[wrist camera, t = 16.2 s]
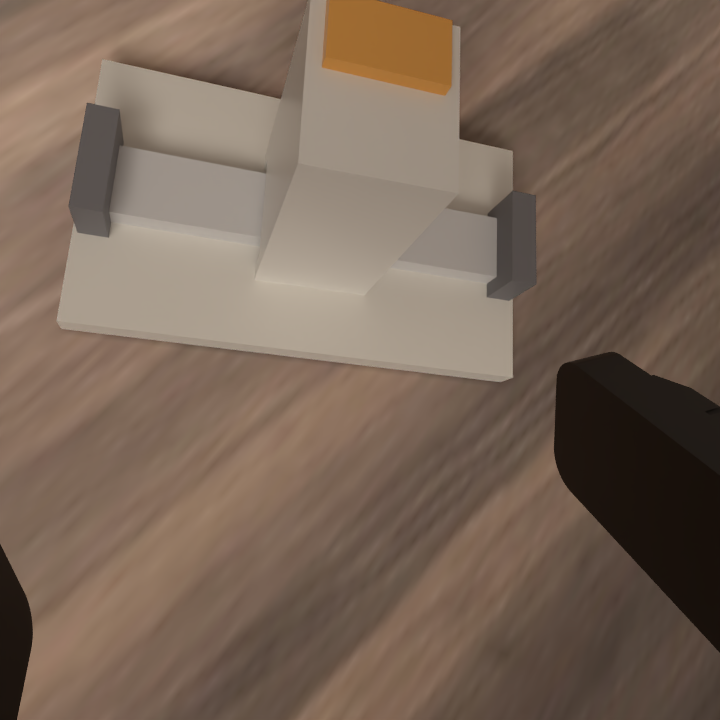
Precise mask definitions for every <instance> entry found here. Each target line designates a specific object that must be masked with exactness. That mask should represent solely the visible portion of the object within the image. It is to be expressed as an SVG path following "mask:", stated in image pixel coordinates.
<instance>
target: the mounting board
mask: <svg viewBox="0 0 720 720" xmlns="http://www.w3.org/2000/svg"><path fill="white" fill-rule="evenodd" d="M280 100H281V99H278V98H274V97H269V96H265V95H260V94H256V93H252V92H247V91H243V90H238V89H234V88H229V87H225V86H220V85H216V84H211V83H207V82H202V81H198V80H194V79H189V78H185V77H180V76H176V75H171V74H167V73H162V72H158V71H153V70H149V69H144V68H140V67H136V66H131V65H127V64H122V63H118V62H113V61H109V60H104V59H102V65H101V71H100V77H99V82H98V88H97V94H96V99H95V104H91V103H87V106H86V111H85V117H84V123H83V128H82V134H81V139H80V145H79V151H78V156H77V162H76V167H75V173H74V179H73V184H72V190H71V195H70V201H69V209H70V212H71V215H72V218H73V221H74V225H73V230H72V236H71V242H70V248H69V253H68V259H67V265H66V270H65V276H64V282H63V287H62V293H61V299H60V305H59V310H58V316H57V322H58V324H59V326H60V327H61V329H67V330H76V331H84V332H92V333H100V334H108V335H117V336H125V337H133V338H141V339H150V340H158V341H166V342H174V343H183V344H191V345H199V346H207V347H216V348H224V349H232V350H240V351H248V352H257V353H265V354H273V355H281V356H290V357H298V358H306V359H314V360H323V361H331V362H339V363H347V364H355V365H364V366H372V367H380V368H388V369H397V370H405V371H413V372H421V373H430V374H438V375H446V376H454V377H462V378H471V379H479V380H487V381H495V382H502V381H505V380H507V379H510V378H513V298H515V297H516V296H518V295H520V294H521V293H523V292H524V291H526V290H528V289H529V288H531V287H533V286H534V285H536V195H531V194H526V193H522V192H517V191H513V151H510V150H506V149H501V148H497V147H492V146H488V145H484V144H479V143H475V142H470V141H466V140H461V139H459V194H458V195H457V196H456V197H455V198H454V199H453V200H452V201H451V202H450V203H449V205H448V206H447V207H446V208H445V209H444V210H443V211H442V212H441V213H440V214H439V215H438V216H437V217H436V219H435V220H434V221H433V222H432V223H431V224H430V225H429V226H428V227H427V228H426V229H425V230H424V232H423V233H422V234H421V235H420V236H419V237H418V238H417V239H416V240H415V241H414V242H413V243H412V244H411V246H410V247H409V248H408V249H407V250H406V251H405V252H404V253H403V254H402V255H401V256H400V257H399V259H398V260H397V261H396V262H395V263H394V264H393V265H392V266H391V267H390V268H389V269H388V270H387V271H386V273H385V274H384V275H383V276H382V277H381V278H380V279H379V280H378V281H377V282H376V283H375V284H374V286H373V287H372V288H371V289H370V290H369V291H368V292H367V293H366V294H365V295H358V294H351V293H344V292H337V291H330V290H322V289H315V288H308V287H301V286H294V285H286V284H279V283H272V282H265V281H258V280H254V277H255V265H256V262H257V259H258V257H259V250H260V239H261V228H262V216H263V205H264V193H265V182H266V170H264V164H265V155H266V151H267V148H268V144H269V140H270V137H271V133H272V129H273V126H274V122H275V118H276V115H277V111H278V107H279V104H280Z"/></svg>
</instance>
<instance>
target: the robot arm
mask: <svg viewBox="0 0 720 720" xmlns="http://www.w3.org/2000/svg"><path fill="white" fill-rule="evenodd" d="M554 454H555V460H556V464H557V468H558V471H559V473H560V475H561V478H562V480H563V481H564V483H565V485H566V486H567V488H568V489H569V490H570V491H571V492H572V493H573V495H574V496H575V497H576V498H577V499H578V500H579V501H580V502H581V503H582V504H583V505H584V506H585V508H586V509H587V510H588V511H589V512H590V513H591V514H592V515H593V516H594V517H595V518H596V519H597V520H598V522H599V523H600V524H601V525H602V526H603V527H604V528H605V529H606V530H607V531H608V532H609V533H610V535H611V536H612V537H613V538H614V539H615V540H616V541H617V542H618V543H619V544H620V545H621V546H622V547H623V549H624V550H625V551H626V552H627V553H628V554H629V555H630V556H631V557H632V558H633V559H634V560H635V561H636V563H637V564H638V565H639V566H640V567H641V568H642V569H643V570H644V571H645V572H646V573H647V574H648V576H649V577H650V578H651V579H652V580H653V581H654V582H655V583H656V584H657V585H658V586H659V587H660V588H661V590H662V591H663V592H664V593H665V594H666V595H667V596H668V597H669V598H670V599H671V600H672V601H673V603H674V604H675V605H676V606H677V607H678V608H679V609H680V610H681V611H682V612H683V613H684V614H685V615H686V617H687V618H688V619H689V620H690V621H691V622H692V623H693V624H694V625H695V626H696V627H697V628H698V630H699V631H700V632H701V633H702V634H703V635H704V636H705V637H706V638H707V639H708V640H709V641H710V642H711V644H712V645H713V646H714V647H715V648H716V649H717V650H718V651H719V652H720V407H719V406H718V405H716V404H715V403H713V402H712V401H710V400H709V399H707V398H706V397H704V396H702V395H701V394H699V393H698V392H696V391H695V390H693V389H692V388H689V387H687V386H684V385H681V384H678V383H675V382H672V381H669V380H667V379H664V378H661V377H658V376H655V375H652V376H651V375H650V374H648V373H647V372H645V371H644V370H642V369H641V368H639V367H638V366H636V365H635V364H633V363H632V362H630V361H629V360H627V359H626V358H624V357H623V356H621V355H620V354H618V353H615V352H607V353H603V354H599V355H595V356H591V357H587V358H583V359H579V360H575V361H571V362H567V363H564V364H563V365H562V366H561V367H560V369H559V371H558V374H557V384H556V410H555V437H554ZM32 638H33V628H32V617H31V612H30V607H29V603H28V600H27V598H26V595H25V593H24V591H23V589H22V587H21V585H20V583H19V581H18V579H17V577H16V575H15V573H14V571H13V569H12V567H11V565H10V563H9V561H8V559H7V557H6V555H5V553H4V551H3V549H2V547H1V545H0V720H17V716H18V711H19V706H20V701H21V697H22V692H23V687H24V682H25V677H26V672H27V667H28V662H29V657H30V652H31V647H32Z"/></svg>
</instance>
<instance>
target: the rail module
mask: <svg viewBox="0 0 720 720" xmlns="http://www.w3.org/2000/svg"><path fill="white" fill-rule="evenodd" d="M459 109H460V27H458V26H454V25H452V20H449V19H445V18H442V17H438V16H434V15H430V14H426V13H423V12H419V11H415V10H411V9H407V8H404V7H400V6H396V5H392V4H388V3H385V2H381V1H377V0H308V2H307V5H306V9H305V13H304V16H303V20H302V23H301V27H300V31H299V34H298V38H297V42H296V45H295V49H294V53H293V56H292V60H291V64H290V67H289V71H288V75H287V78H286V82H285V86H284V89H283V93H282V96H281V100H280V104H279V107H278V111H277V115H276V118H275V122H274V126H273V129H272V133H271V137H270V140H269V144H268V148H267V151H266V155H265V164H264V170H266V182H265V193H264V205H263V216H262V228H261V239H260V250H259V257H258V259H257V262H256V265H255V277H254V280H258V281H265V282H272V283H279V284H286V285H294V286H301V287H308V288H315V289H322V290H330V291H337V292H344V293H351V294H358V295H365V294H366V293H367V292H368V291H369V290H370V289H371V288H372V287H373V286H374V284H375V283H376V282H377V281H378V280H379V279H380V278H381V277H382V276H383V275H384V274H385V273H386V271H387V270H388V269H389V268H390V267H391V266H392V265H393V264H394V263H395V262H396V261H397V260H398V259H399V257H400V256H401V255H402V254H403V253H404V252H405V251H406V250H407V249H408V248H409V247H410V246H411V244H412V243H413V242H414V241H415V240H416V239H417V238H418V237H419V236H420V235H421V234H422V233H423V232H424V230H425V229H426V228H427V227H428V226H429V225H430V224H431V223H432V222H433V221H434V220H435V219H436V217H437V216H438V215H439V214H440V213H441V212H442V211H443V210H444V209H445V208H446V207H447V206H448V205H449V203H450V202H451V201H452V200H453V199H454V198H455V197H456V196H457V195H458V194H459Z"/></svg>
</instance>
